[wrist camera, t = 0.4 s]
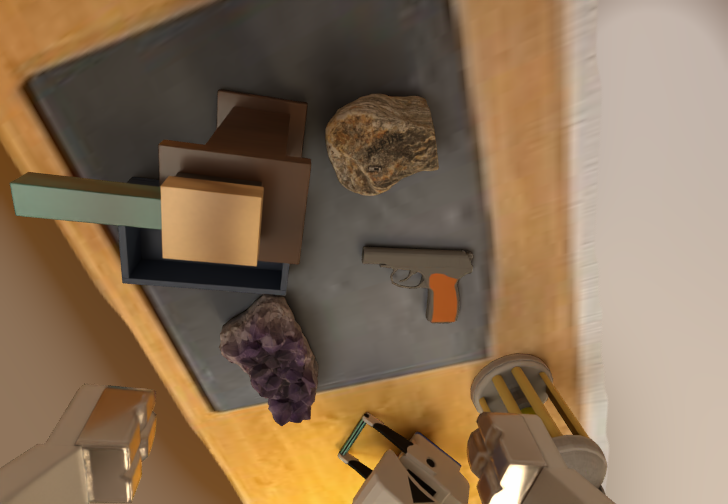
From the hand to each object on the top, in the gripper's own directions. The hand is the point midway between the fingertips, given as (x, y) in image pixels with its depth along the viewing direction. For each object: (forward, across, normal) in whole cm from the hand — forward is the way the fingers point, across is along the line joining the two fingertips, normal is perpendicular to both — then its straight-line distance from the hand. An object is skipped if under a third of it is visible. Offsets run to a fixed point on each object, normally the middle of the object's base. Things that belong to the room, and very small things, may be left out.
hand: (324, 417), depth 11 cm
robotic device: (+47, -24, +58) cm, 78 cm away
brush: (+22, +11, +5) cm, 25 cm away
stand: (+47, +6, +6) cm, 48 cm away
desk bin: (+47, +10, +19) cm, 52 cm away
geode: (+47, 0, +38) cm, 60 cm away
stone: (+48, -8, +4) cm, 49 cm away
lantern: (+47, -40, +43) cm, 75 cm away
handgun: (+48, -18, +24) cm, 56 cm away
